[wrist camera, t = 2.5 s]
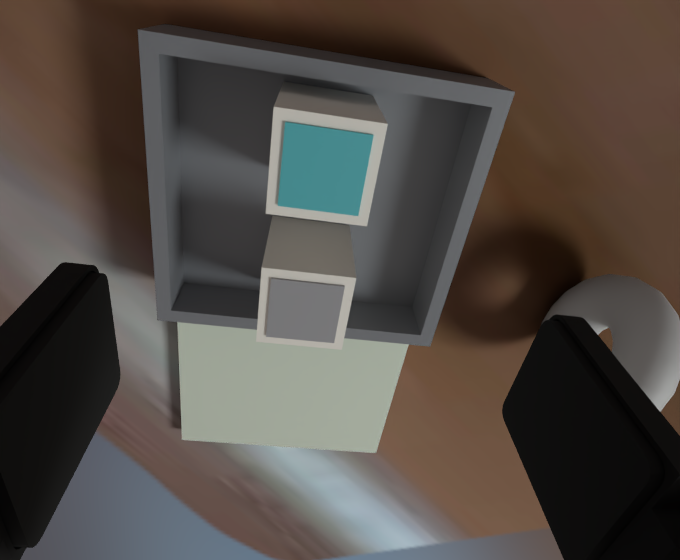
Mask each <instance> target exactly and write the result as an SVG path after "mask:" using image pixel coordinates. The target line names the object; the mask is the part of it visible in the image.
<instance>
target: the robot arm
mask: <svg viewBox="0 0 680 560" xmlns="http://www.w3.org/2000/svg"><path fill="white" fill-rule="evenodd" d="M119 381H120V366H119V359H118V351H117V344H116V337H115V329H114V322H113V315H112V307H111V300H110V293H109V285H108V279H107V276H106V275H105V274H103V273H99V271H98V269H97V267H96V266H94V265H86V264H76V263H67V262H65V263H61V264H60V265H59V266H58V267H57V268H56V269H55V270H54V271H53V272H52V273H51V274H50V275H49V276H48V277H47V278H46V279H45V280H44V281H43V282H42V284H41V285H40V286H39V287H38V288H37V289H36V290H35V291H34V292H33V293H32V294H31V295H30V296H29V297H28V298H27V299H26V300H25V301H24V302H23V303H22V305H21V306H20V307H19V308H18V309H17V310H16V311H15V312H14V313H13V314H12V315H11V316H10V317H9V318H8V319H7V320H6V321H5V322H4V323H3V324H2V325H1V326H0V560H20V559H21V557H22V555H23V553H24V551H25V549H26V547H29V548H33V547H34V546H35V545H37V543H38V542H39V541H40V539H41V537H42V536H43V534H44V532H45V530H46V527H47V526H48V524H49V522H50V520H51V518H52V516H53V514H54V512H55V510H56V508H57V506H58V504H59V502H60V500H61V498H62V496H63V494H64V492H65V490H66V489H67V487H68V485H69V483H70V480H71V479H72V477H73V475H74V472H75V471H76V469H77V467H78V465H79V463H80V461H81V459H82V457H83V455H84V453H85V451H86V449H87V447H88V445H89V443H90V441H91V439H92V438H93V436H94V434H95V432H96V430H97V428H98V426H99V424H100V422H101V420H102V418H103V416H104V414H105V412H106V410H107V408H108V406H109V404H110V402H111V400H112V398H113V396H114V394H115V392H116V390H117V388H118V385H119ZM502 413H503V418H504V421H505V424H506V426H507V428H508V431H509V433H510V435H511V438H512V440H513V442H514V445H515V447H516V449H517V452H518V454H519V456H520V459H521V461H522V463H523V465H524V468H525V470H526V472H527V475H528V477H529V479H530V482H531V484H532V486H533V489H534V491H535V493H536V496H537V498H538V500H539V503H540V505H541V507H542V510H543V512H544V514H545V517H546V519H547V521H548V524H549V526H550V528H551V531H552V533H553V535H554V537H555V540H556V542H557V544H558V547H559V549H560V551H561V554H562V556H563V558H564V560H680V436H679V435H678V433H677V432H676V431H675V430H674V428H673V427H672V426H671V425H670V423H669V422H668V421H667V420H666V419H665V417H664V416H663V415H662V414H661V412H660V411H659V410H658V409H657V407H656V406H655V405H654V404H653V402H652V401H651V400H650V399H649V398H648V396H647V395H646V394H645V393H644V391H643V390H642V389H641V388H640V386H639V385H638V384H637V383H636V382H635V380H634V379H633V378H632V377H631V375H630V374H629V373H628V372H627V370H626V369H625V368H624V367H623V365H622V364H621V363H620V362H619V361H618V359H617V358H616V357H615V356H614V354H613V353H612V352H611V351H610V349H609V348H608V347H607V346H606V344H605V343H604V342H603V341H602V340H601V338H600V337H599V336H598V335H597V333H596V332H595V331H594V330H593V328H592V327H591V326H590V325H589V323H588V322H587V321H586V320H585V319H584V318H582V317H577V316H567V315H558V314H557V315H553V316H552V317H551V318H550V319H549V320H545V321H544V322H543V323H542V325H541V327H540V329H539V331H538V333H537V335H536V337H535V339H534V341H533V343H532V345H531V347H530V349H529V351H528V354H527V356H526V358H525V360H524V362H523V364H522V366H521V368H520V370H519V372H518V374H517V376H516V378H515V381H514V383H513V385H512V387H511V389H510V391H509V393H508V395H507V397H506V399H505V401H504V404H503V409H502Z"/></svg>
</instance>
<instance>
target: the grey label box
mask: <svg viewBox="0 0 680 560" xmlns="http://www.w3.org/2000/svg"><path fill="white" fill-rule="evenodd" d="M355 283H356V271H355V263H354V256H353V248H352V241H351V233H350V225H343V224H335V223H327V222H319V221H311V220H303V219H295V218H287V217H279V216H272V220H271V225H270V230H269V234H268V239H267V244H266V249H265V254H264V258H263V263H262V269H261V282H260V295H259V309H258V322H257V335H256V342H264V343H275V344H285V345H296V346H307V347H317V348H328V349H339V350H342V346H343V341H344V337H345V332H346V327H347V322H348V317H349V312H350V307H351V302H352V297H353V292H354V288H355Z"/></svg>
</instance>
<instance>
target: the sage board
mask: <svg viewBox="0 0 680 560" xmlns="http://www.w3.org/2000/svg"><path fill="white" fill-rule="evenodd" d="M177 325H178V350H179V375H180V401H181V426H182V440H192V441H207V442H222V443H236V444H251V445H266V446H281V447H295V448H310V449H325V450H339V451H354V452H369V453H376V451H377V448H378V444H379V441H380V438H381V434H382V431H383V428H384V425H385V421H386V418H387V415H388V411H389V408H390V405H391V401H392V398H393V395H394V391H395V388H396V385H397V381H398V378H399V375H400V371H401V368H402V365H403V361H404V358H405V355H406V351H407V348H408V345H409V344H399V343H389V342H378V341H368V340H358V339H347V338H344V341H343V346H342V350H339V349H328V348H317V347H307V346H296V345H285V344H275V343H264V342H256V335H257V330H254V329H244V328H233V327H223V326H212V325H202V324H192V323H181V322H177Z"/></svg>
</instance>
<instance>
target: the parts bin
mask: <svg viewBox="0 0 680 560" xmlns="http://www.w3.org/2000/svg"><path fill="white" fill-rule="evenodd" d="M138 41H139V56H140V70H141V85H142V100H143V114H144V129H145V144H146V159H147V173H148V188H149V203H150V217H151V232H152V247H153V262H154V276H155V291H156V306H157V320H161V321H171V322H181V323H192V324H202V325H212V326H223V327H233V328H244V329H254V330H257V322H258V309H259V295H260V282H261V269H262V263H263V258H264V254H265V249H266V244H267V239H268V234H269V230H270V225H271V220H272V216H279V217H287V218H295V219H303V220H311V219H304V218H296V217H288V216H280V215H272V214H266V202H267V189H268V175H269V162H270V149H271V135H272V122H273V109H274V105H275V102H276V99H277V97H278V94H279V92H280V89H281V87H282V84H283V82H290V83H296V84H302V85H309V86H315V87H321V88H328V89H334V90H340V91H346V92H353V93H359V94H365V95H372V96H373V97H374V98H375V100H376V102H377V104H378V106H379V108H380V110H381V112H382V114H383V116H384V118H385V119H386V121H387V123H388V126H387V131H386V135H385V140H384V145H383V150H382V155H381V160H380V165H379V170H378V175H377V180H376V184H375V189H374V194H373V199H372V204H371V209H370V214H369V219H368V224H367V226H359V225H351V224H343V223H335V222H327V221H319V220H311V221H319V222H327V223H335V224H343V225H350V233H351V241H352V248H353V256H354V263H355V271H356V283H355V288H354V292H353V297H352V302H351V307H350V312H349V317H348V322H347V327H346V332H345V337H344V338H347V339H358V340H368V341H378V342H389V343H399V344H410V345H420V346H430V345H431V342H432V339H433V336H434V333H435V330H436V327H437V324H438V321H439V318H440V315H441V312H442V309H443V306H444V303H445V300H446V297H447V294H448V291H449V288H450V285H451V282H452V279H453V276H454V273H455V270H456V267H457V264H458V261H459V258H460V255H461V252H462V249H463V246H464V243H465V240H466V237H467V234H468V231H469V228H470V225H471V222H472V219H473V216H474V213H475V210H476V207H477V204H478V201H479V198H480V195H481V192H482V189H483V186H484V183H485V180H486V177H487V174H488V171H489V168H490V165H491V162H492V159H493V156H494V153H495V150H496V147H497V144H498V141H499V138H500V135H501V132H502V129H503V126H504V123H505V120H506V117H507V114H508V111H509V108H510V105H511V102H512V99H513V96H514V93H515V92H514V91H512V90H510V89H508V88H506V87H504V86H502V85H500V84H498V83H496V82H495V81H493V80H491V79H489V78H484V77H479V76H473V75H467V74H461V73H455V72H449V71H443V70H437V69H431V68H425V67H419V66H413V65H407V64H401V63H395V62H389V61H383V60H377V59H371V58H365V57H359V56H353V55H347V54H342V53H336V52H330V51H324V50H318V49H312V48H306V47H300V46H294V45H288V44H282V43H276V42H270V41H264V40H258V39H252V38H246V37H240V36H234V35H228V34H222V33H216V32H211V31H205V30H199V29H193V28H187V27H181V26H175V25H169V24H162V25H157V26H152V27H147V28H142V29H138Z"/></svg>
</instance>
